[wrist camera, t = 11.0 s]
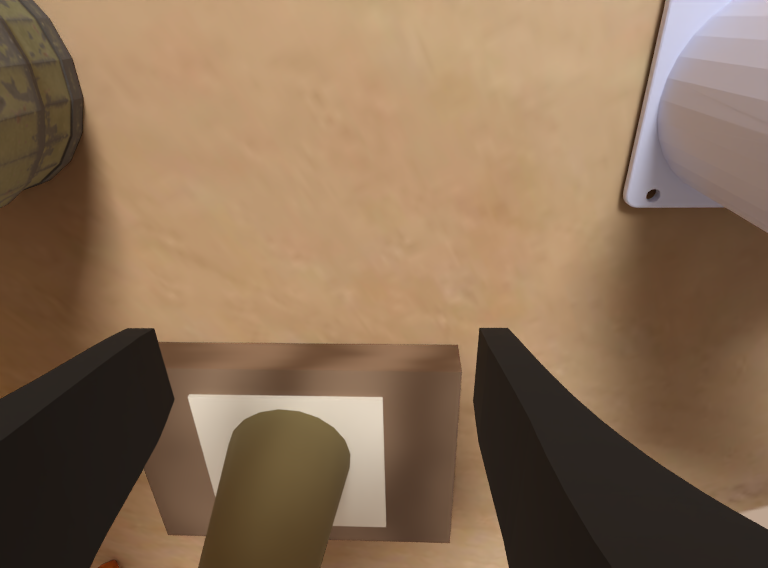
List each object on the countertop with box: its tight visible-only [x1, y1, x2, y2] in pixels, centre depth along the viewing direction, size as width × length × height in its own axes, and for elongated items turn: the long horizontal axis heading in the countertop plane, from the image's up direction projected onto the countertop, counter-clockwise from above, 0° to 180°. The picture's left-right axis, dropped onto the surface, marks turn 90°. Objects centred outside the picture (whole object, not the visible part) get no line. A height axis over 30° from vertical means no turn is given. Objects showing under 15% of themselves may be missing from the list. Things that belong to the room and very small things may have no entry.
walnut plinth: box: [144, 342, 462, 543], centre depth 25 cm, size 16×12×2 cm
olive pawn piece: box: [198, 409, 351, 568], centre depth 19 cm, size 6×6×11 cm
